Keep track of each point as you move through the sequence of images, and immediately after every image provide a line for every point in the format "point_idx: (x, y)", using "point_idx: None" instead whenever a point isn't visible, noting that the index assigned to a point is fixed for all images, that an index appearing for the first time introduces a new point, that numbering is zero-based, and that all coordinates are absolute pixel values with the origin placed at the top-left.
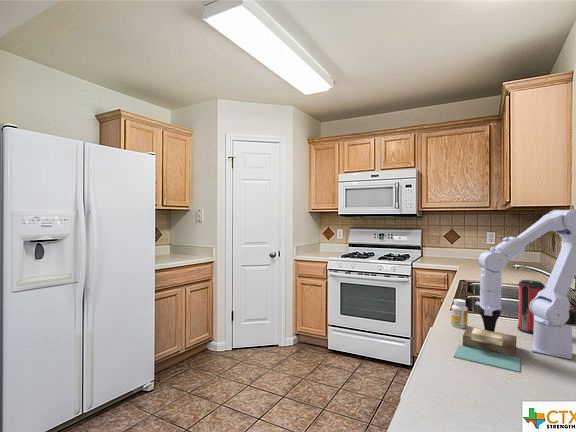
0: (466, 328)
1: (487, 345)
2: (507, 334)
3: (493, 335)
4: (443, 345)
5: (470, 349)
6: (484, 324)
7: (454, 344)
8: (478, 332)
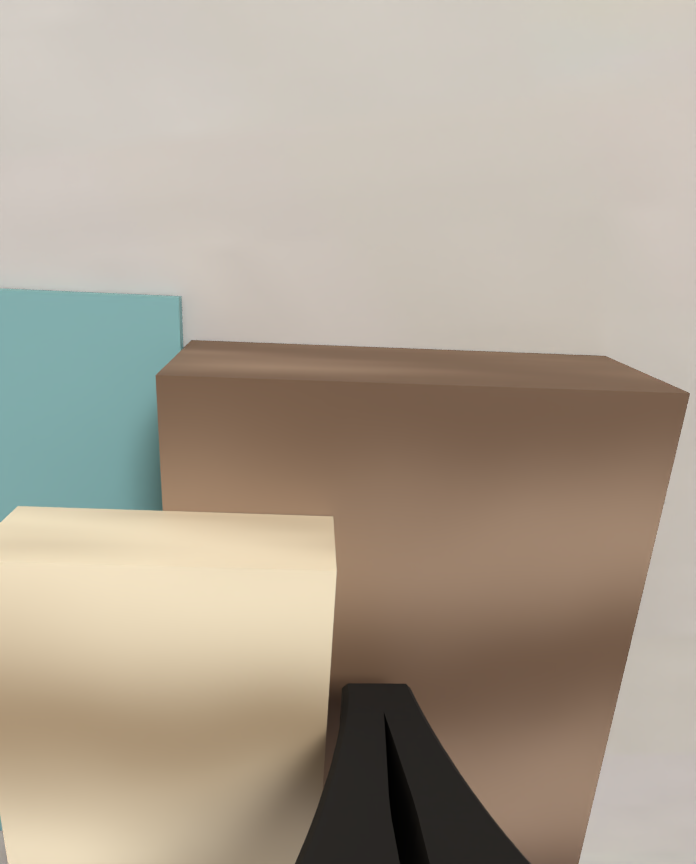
0: (603, 391)
1: None
2: (580, 838)
3: (103, 825)
4: (44, 86)
5: (100, 440)
6: (326, 795)
7: (204, 233)
8: (104, 650)
